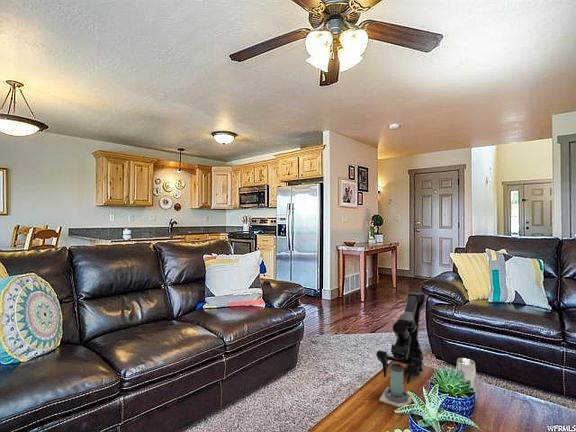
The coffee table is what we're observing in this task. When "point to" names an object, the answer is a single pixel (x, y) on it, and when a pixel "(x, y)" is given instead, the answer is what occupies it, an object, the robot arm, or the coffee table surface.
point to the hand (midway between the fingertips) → (395, 380)
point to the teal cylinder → (397, 381)
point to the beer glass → (467, 369)
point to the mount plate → (395, 401)
